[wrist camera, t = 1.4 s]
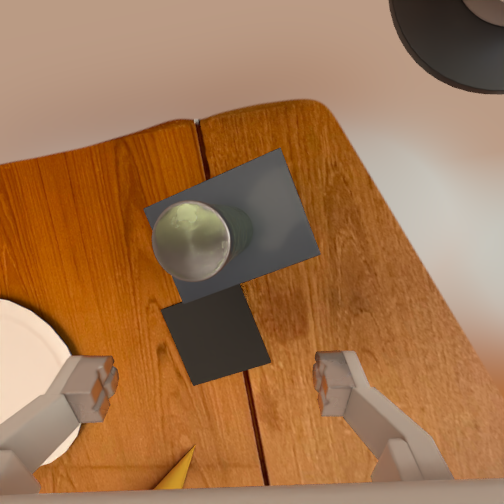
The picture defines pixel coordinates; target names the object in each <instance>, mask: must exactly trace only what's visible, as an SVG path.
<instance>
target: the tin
mask: <svg viewBox="0 0 504 504" xmlns="http://www.w3.org/2000/svg"><path fill="white" fill-rule="evenodd" d="M252 238H253V225H252V221H251V219H250V218H249V216H248V215H247V214H246V213H245V212H244V211H243V210H242V209H240V208H238V207H235V206H229V205H218V204H208V203H205V202H201V201H195V200H184V201H179V202H177V203H174V204H172V205H170V206H169V207H167V208H166V209H165V210H164V211H163V212H162V213H161V214H160V216H159V217H158V219H157V220H156V223H155V225H154V228H153V232H152V247H153V251H154V254H155V257H156V259H157V261H158V262H159V264H160V265H161V266H162V268H163V269H164V270H165V271H166V272H167V273H169V274H170V275H172V276H173V277H175V278H177V279H180V280H182V281H187V282H199V281H204V280H207V279H209V278H211V277H213V276H214V275H216V274H217V273H218V272H219V271H221V270H222V269H223V268H224V266H225V265H226V264H227V263H229V262H230V261H231V260H232V259H234V258H235V257H236V256H238V255H239V254H240V253H242V252H243V251H244V250H245V249H246V248H247V247H248V246H249V244H250V243H251V241H252Z"/></svg>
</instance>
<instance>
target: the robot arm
mask: <svg viewBox="0 0 504 504" xmlns="http://www.w3.org/2000/svg"><path fill="white" fill-rule="evenodd" d="M463 2H464V3H465V5H466V6H467V7H468V9H469V10H470V11H471V12H472V13H474V14H475V15H476V16H477V17H479V18H480V19H482V20H484V21H486V22H488V23H491V24H494V25H497V26H502V27H504V0H463ZM315 360H316V363H315V364H314V365H313V383H314V387H315V390H316V391H317V392H318V393H319V395H318V404H319V408H320V412H321V416H344V417H343V418H344V419H345V420H346V421H347V423H348V424H349V425H350V426H351V428H352V429H353V430H354V431H355V432H356V434H357V435H358V436H359V437H360V438H361V440H362V441H363V442H364V443H365V444H366V446H367V447H368V448H369V449H370V451H371V452H372V453H373V454H374V455H375V457H376V458H377V459H378V462H377V464H376V466H375V468H374V470H373V472H372V474H371V479H372V482H367V483H338V484H308V485H279V486H249V487H220V488H191V489H161V490H132V491H104V492H75V493H46V494H38V493H39V491H40V489H41V486H40V483H39V482H38V481H37V479H36V478H35V477H34V476H33V475H32V474H33V473H34V472H35V471H36V470H37V469H38V468H39V467H40V466H41V465H42V464H43V463H44V461H45V460H46V459H47V458H48V457H49V456H50V455H51V454H52V453H53V452H54V451H55V450H56V449H57V448H58V447H59V446H60V445H61V444H62V443H63V442H64V441H65V440H66V439H67V438H68V437H69V436H70V434H71V433H72V432H73V431H74V430H75V429H76V428H77V427H78V426H79V425H80V424H79V423H95V422H103V421H104V418H105V416H106V414H107V411H108V409H109V406H110V403H109V400H108V399H109V398H110V397H111V396H113V395H114V394H115V391H116V389H117V386H118V380H119V374H118V370H117V368H115V367H114V366H113V363H114V359H113V357H112V356H70V357H69V358H68V359H67V360H66V361H65V363H64V365H63V366H62V368H61V369H60V371H59V372H58V374H57V376H56V377H55V379H54V380H53V382H52V384H51V385H50V387H49V388H48V390H47V391H46V393H45V395H39V396H38V397H37V398H35V399H34V400H33V401H31V402H30V403H29V404H27V405H26V406H24V407H23V408H22V409H20V410H19V411H18V412H16V413H15V414H14V415H12V416H11V417H9V418H8V419H7V420H5V421H4V422H3V423H1V424H0V504H504V478H483V479H454V477H453V475H452V474H451V472H450V470H449V468H448V466H447V464H446V462H445V461H444V459H443V457H442V455H441V453H440V451H439V449H438V448H437V446H436V444H435V442H434V440H433V438H432V437H431V436H430V435H429V434H428V433H427V432H426V431H425V430H423V429H422V428H421V427H420V426H419V425H418V424H416V423H415V422H414V421H413V420H412V419H411V418H409V417H408V416H407V415H406V414H405V413H404V412H402V411H401V410H400V409H399V408H398V407H397V406H396V405H394V404H393V403H392V402H391V401H390V400H389V399H387V398H386V397H385V396H384V395H383V394H382V393H380V392H379V391H378V390H377V389H376V388H375V387H370V385H369V382H368V380H367V378H366V375H365V373H364V371H363V368H362V366H361V364H360V361H359V359H358V357H357V355H356V353H355V352H354V351H317V352H316V354H315Z"/></svg>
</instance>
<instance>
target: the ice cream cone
mask: <svg viewBox="0 0 504 504" xmlns="http://www.w3.org/2000/svg"><path fill="white" fill-rule="evenodd" d="M195 445H196V444H195ZM195 445H194V446H193V448H192V449H191V450H190V451H189V452H188V453H187V454H186V455H185V456H184V457H183V458H182V459H181V460H180V462H179V463H178V464H177V465H176V466H175V467H174V468H173V469H172V470H171V471H170V472H169V473H168V474H167V476H166V477H165V478H164V479H163V480H162V481H161V482H160V483H159V484H158V485H157V486H156V487H155V488H154V489H153V490H161V489H182V488H183V484H184V481H185V478H186V474H187V471H188V468H189V464H190V461H191V458H192V455H193V451H194V448H195Z"/></svg>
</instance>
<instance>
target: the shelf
mask: <svg viewBox="0 0 504 504" xmlns="http://www.w3.org/2000/svg"><path fill="white" fill-rule="evenodd" d="M184 200H195V201H201V202H205V203H208V204H218V205H229V206H235V207H238V208H240V209H242V210H243V211H244V212H245V213H246V214H247V215H248V216H249V218H250V219H251V221H252V225H253V238H252V241H251V243H250V244H249V246H248V247H247V248H246V249H245V250H244V251H243V252H242V253H240V254H239V255H238V256H236V257H235V258H234V259H232V260H231V261H230V262H229V263H227V264H226V265H225V266H224V268H223V269H222V270H221V271H219V272H218V273H217V274H216V275H214V276H213V277H211V278H209V279H207V280H204V281H199V282H187V281H182V280H180V279H177V278H175V277H173V276H172V277H173V280H174V282H175V285H176V287H177V289H178V292H179V294H180V296H181V299H182V301H183V303H184V304H185V303H188V302H191V301H194V300H196V299H199V298H202V297H205V296H207V295H210V294H213V293H216V292H218V291H221V290H224V289H227V288H229V287H232V286H235V285H238V284H240V283H243V282H246V281H249V280H252V279H254V278H257V277H260V276H263V275H265V274H268V273H271V272H274V271H276V270H279V269H282V268H285V267H287V266H290V265H293V264H296V263H298V262H301V261H304V260H307V259H309V258H312V257H315V256H318V255H320V251H319V248H318V246H317V243H316V241H315V238H314V235H313V233H312V230H311V227H310V225H309V222H308V219H307V217H306V214H305V211H304V209H303V206H302V204H301V201H300V198H299V196H298V193H297V190H296V188H295V185H294V182H293V180H292V177H291V175H290V172H289V169H288V167H287V164H286V161H285V159H284V156H283V153H282V151H281V148H278V149H276V150H274V151H271V152H269V153H267V154H265V155H263V156H260V157H258V158H256V159H254V160H251V161H249V162H247V163H245V164H242V165H240V166H238V167H236V168H233V169H231V170H229V171H227V172H224V173H222V174H220V175H218V176H216V177H213V178H211V179H209V180H207V181H204V182H202V183H200V184H198V185H195V186H193V187H191V188H189V189H186V190H184V191H182V192H180V193H177V194H175V195H173V196H171V197H169V198H166V199H164V200H162V201H160V202H157V203H155V204H153V205H151V206H148V207H146V208H144V211H145V214H146V216H147V219H148V221H149V223H150V226H151V228H152V230H153V228H154V225H155V223H156V220H157V219H158V217H159V216H160V214H161V213H162V212H163V211H164V210H165V209H166V208H167V207H169V206H170V205H172V204H174V203H177V202H179V201H184Z"/></svg>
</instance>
